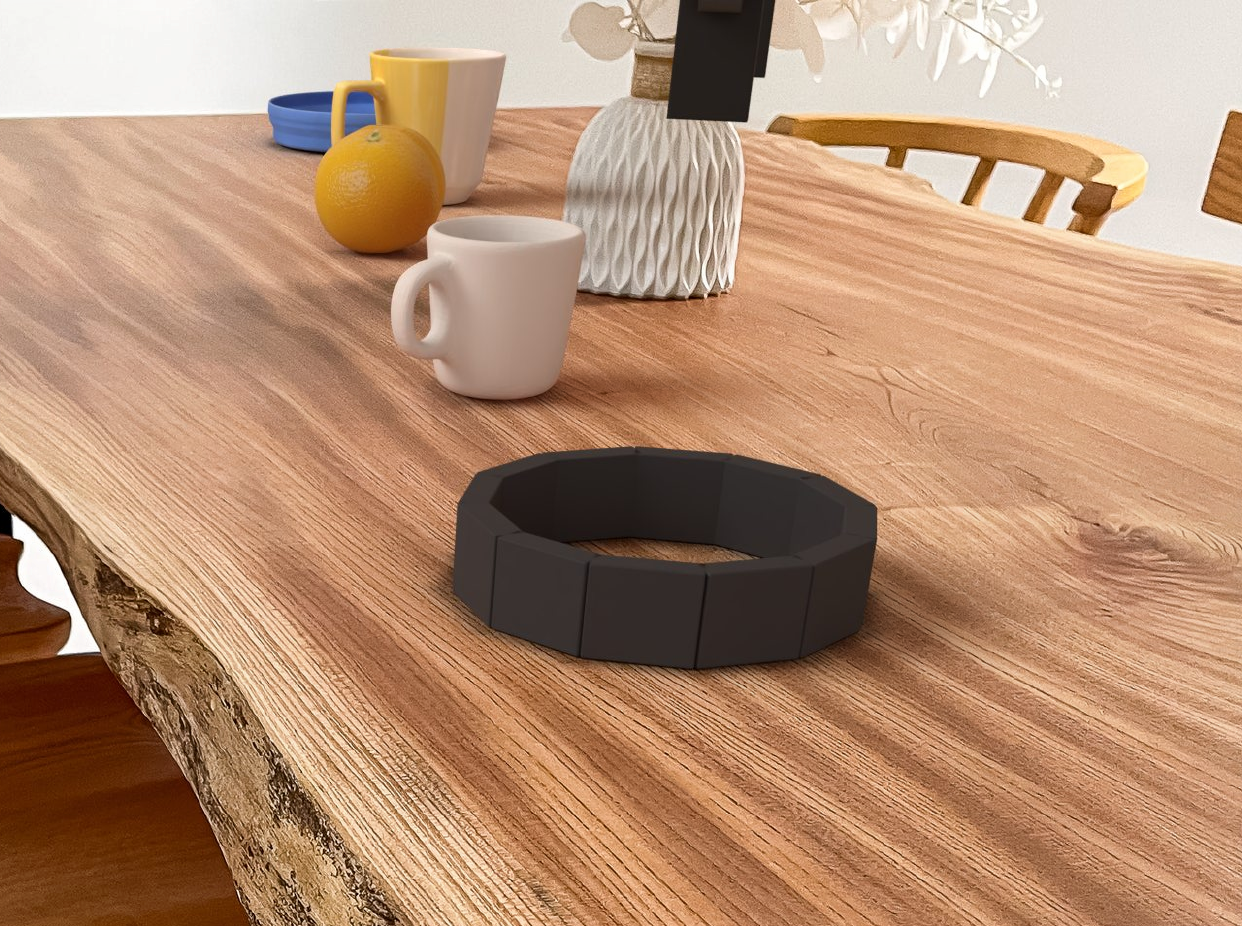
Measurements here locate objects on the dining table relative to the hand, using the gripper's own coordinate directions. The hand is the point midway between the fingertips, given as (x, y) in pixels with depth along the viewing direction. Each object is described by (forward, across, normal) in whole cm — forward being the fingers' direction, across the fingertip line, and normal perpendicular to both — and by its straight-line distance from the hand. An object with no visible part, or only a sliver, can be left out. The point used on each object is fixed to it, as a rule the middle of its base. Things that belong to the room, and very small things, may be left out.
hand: (719, 97), depth 72 cm
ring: (+17, +6, 0) cm, 18 cm away
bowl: (+17, -108, -36) cm, 115 cm away
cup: (+17, -22, -12) cm, 30 cm away
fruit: (+17, -58, -24) cm, 65 cm away
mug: (+17, -79, -26) cm, 85 cm away
